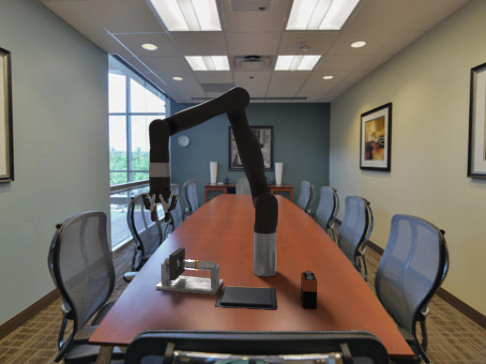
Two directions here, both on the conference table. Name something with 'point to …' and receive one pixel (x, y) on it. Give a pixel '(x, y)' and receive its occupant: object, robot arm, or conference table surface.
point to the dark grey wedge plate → (173, 257)
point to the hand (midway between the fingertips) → (160, 221)
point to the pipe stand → (188, 282)
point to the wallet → (247, 298)
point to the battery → (308, 290)
